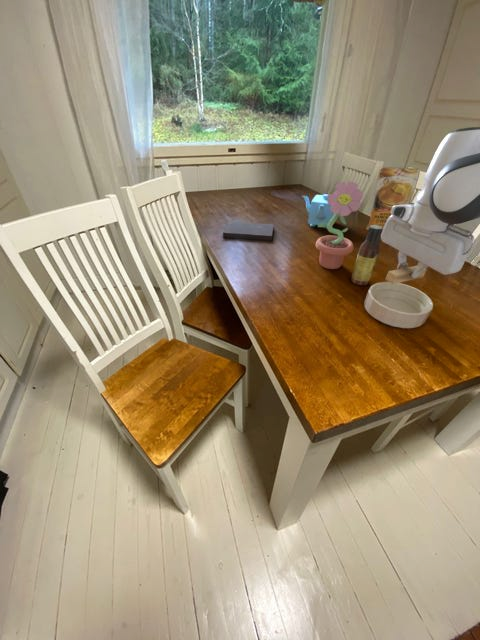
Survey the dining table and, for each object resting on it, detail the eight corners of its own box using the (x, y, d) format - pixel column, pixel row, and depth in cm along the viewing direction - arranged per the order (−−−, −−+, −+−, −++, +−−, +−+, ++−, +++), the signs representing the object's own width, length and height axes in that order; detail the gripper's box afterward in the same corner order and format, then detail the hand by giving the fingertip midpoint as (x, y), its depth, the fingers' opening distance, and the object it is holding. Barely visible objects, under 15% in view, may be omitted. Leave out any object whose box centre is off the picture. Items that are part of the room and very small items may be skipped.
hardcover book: (229, 225, 141) (229, 221, 140) (273, 228, 139) (273, 224, 137) (223, 237, 129) (222, 232, 128) (271, 241, 126) (271, 236, 125)
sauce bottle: (371, 286, 96) (391, 231, 84) (353, 286, 96) (370, 230, 84) (364, 277, 101) (382, 223, 89) (347, 276, 101) (363, 223, 89)
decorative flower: (304, 267, 107) (319, 184, 88) (314, 254, 116) (329, 176, 97) (343, 276, 101) (368, 190, 82) (350, 261, 111) (374, 181, 92)
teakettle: (324, 217, 154) (330, 188, 145) (346, 228, 140) (354, 197, 131) (295, 221, 148) (299, 192, 139) (316, 233, 135) (321, 202, 125)
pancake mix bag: (360, 226, 142) (378, 166, 125) (398, 228, 141) (421, 167, 124) (363, 231, 137) (382, 169, 120) (403, 233, 136) (427, 170, 118)
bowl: (428, 307, 86) (436, 293, 83) (420, 337, 75) (428, 322, 72) (371, 290, 94) (377, 276, 91) (356, 315, 83) (362, 300, 80)
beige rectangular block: (415, 273, 71) (419, 264, 70) (423, 277, 69) (427, 269, 68) (385, 279, 68) (388, 271, 67) (392, 284, 67) (395, 275, 65)
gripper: (490, 232, 53) (453, 292, 61) (407, 202, 67) (387, 254, 76) (467, 236, 51) (433, 297, 60) (387, 204, 66) (369, 257, 74)
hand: (406, 272), depth 68 cm, fingers closed on beige rectangular block, 2 cm apart
